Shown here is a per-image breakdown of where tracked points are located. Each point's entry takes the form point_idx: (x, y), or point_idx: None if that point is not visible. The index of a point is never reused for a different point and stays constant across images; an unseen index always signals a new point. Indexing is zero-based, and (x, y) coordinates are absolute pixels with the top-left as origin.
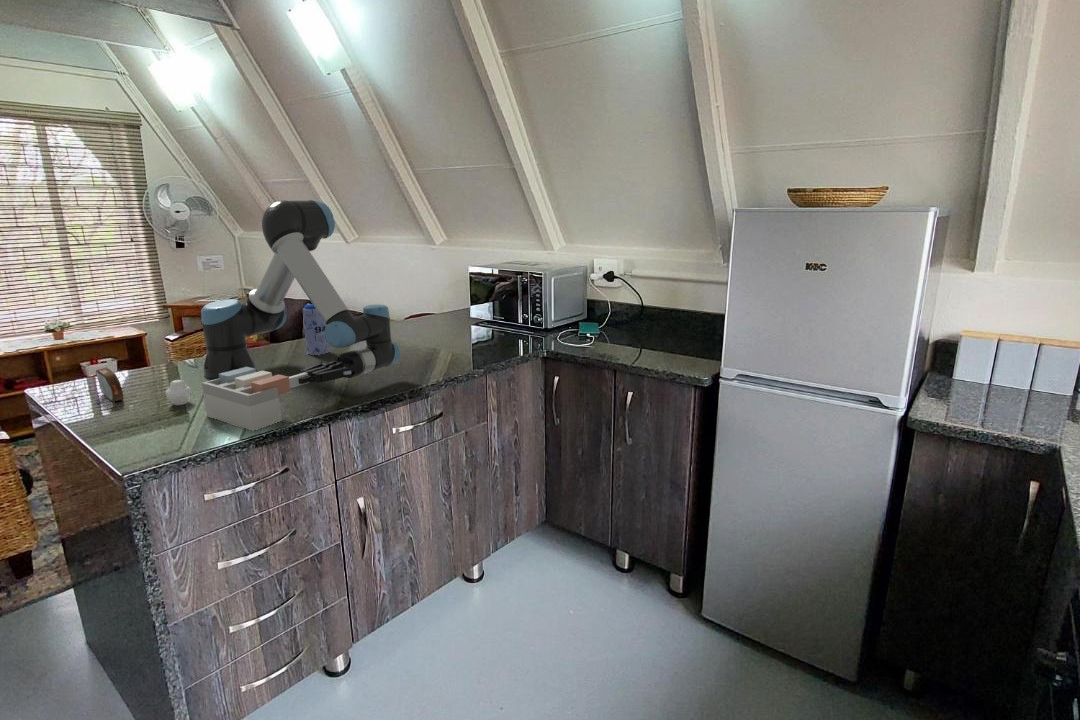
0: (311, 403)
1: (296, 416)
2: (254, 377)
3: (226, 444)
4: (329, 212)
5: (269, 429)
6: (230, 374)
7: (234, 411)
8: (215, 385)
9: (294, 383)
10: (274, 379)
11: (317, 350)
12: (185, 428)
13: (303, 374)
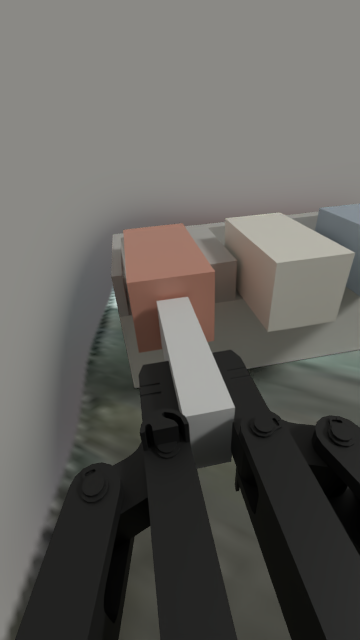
0: (273, 600)
1: (136, 439)
2: (240, 231)
3: (112, 293)
4: None
5: (108, 351)
6: (342, 211)
7: None
8: (289, 217)
9: (165, 358)
10: (143, 252)
11: None
12: None
13: (176, 380)
